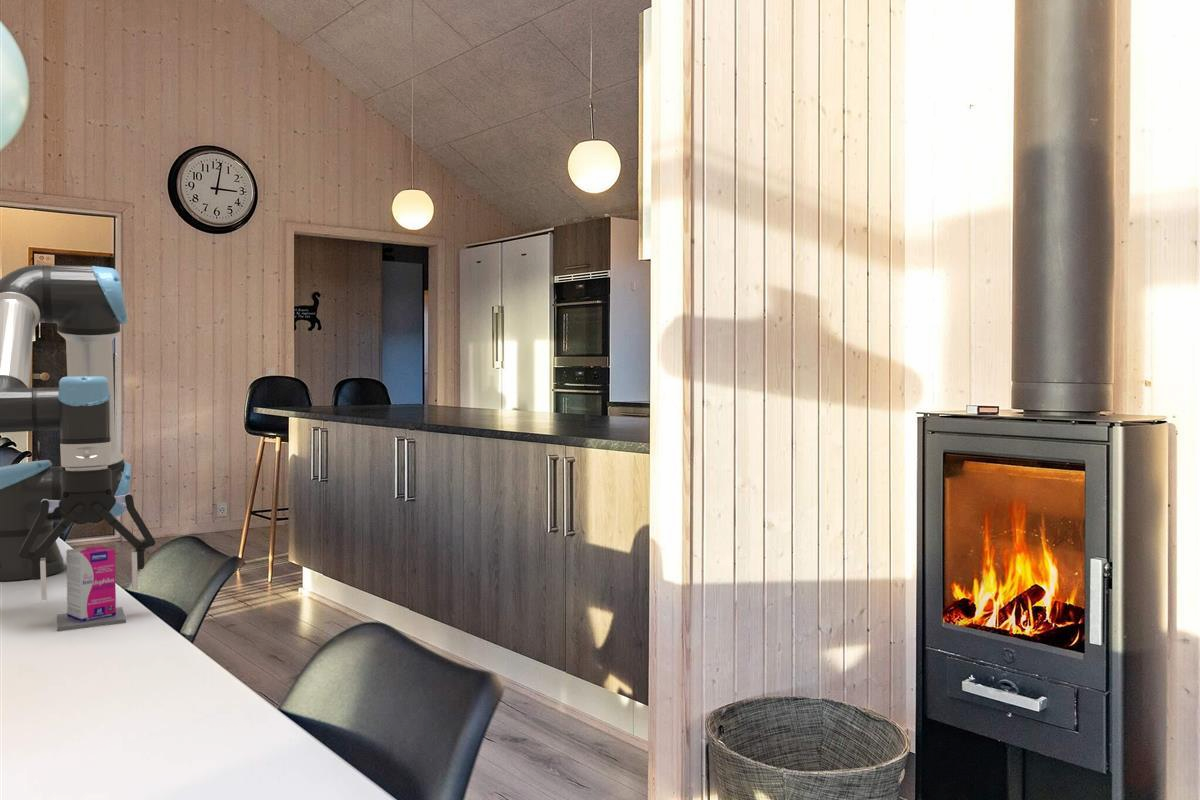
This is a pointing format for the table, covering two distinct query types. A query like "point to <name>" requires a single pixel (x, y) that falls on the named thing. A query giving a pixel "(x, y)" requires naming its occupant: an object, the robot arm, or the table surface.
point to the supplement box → (91, 583)
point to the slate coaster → (89, 621)
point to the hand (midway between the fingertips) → (90, 593)
